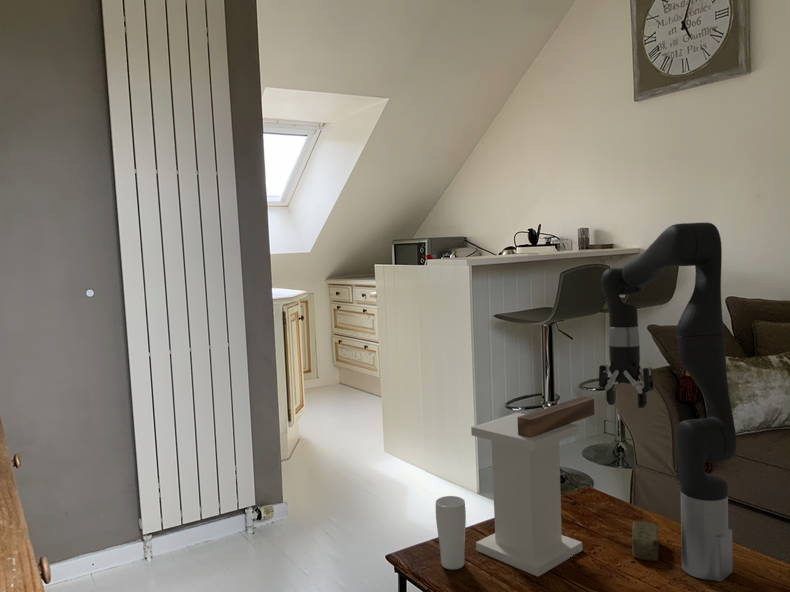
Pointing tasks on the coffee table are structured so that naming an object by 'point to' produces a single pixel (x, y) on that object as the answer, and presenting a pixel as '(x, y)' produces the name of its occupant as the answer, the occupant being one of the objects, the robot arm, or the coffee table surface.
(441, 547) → the drinking glass
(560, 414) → the walnut bar
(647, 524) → the stone block
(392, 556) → the coffee table surface
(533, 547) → the shelf stand
